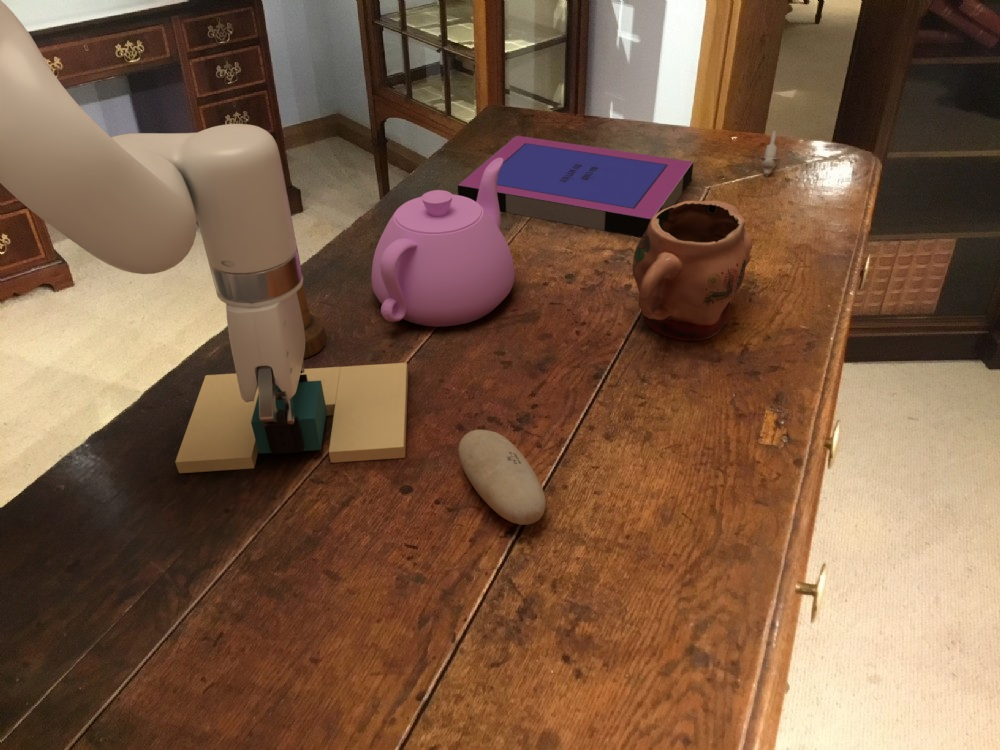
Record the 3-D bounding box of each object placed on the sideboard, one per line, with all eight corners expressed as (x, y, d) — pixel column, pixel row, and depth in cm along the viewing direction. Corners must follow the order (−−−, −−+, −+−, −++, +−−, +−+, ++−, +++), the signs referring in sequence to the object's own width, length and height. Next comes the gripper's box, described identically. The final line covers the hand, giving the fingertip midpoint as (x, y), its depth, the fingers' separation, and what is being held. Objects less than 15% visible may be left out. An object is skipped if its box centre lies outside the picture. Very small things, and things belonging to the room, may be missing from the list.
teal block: (259, 453, 83) (250, 422, 80) (268, 414, 88) (260, 383, 85) (320, 449, 83) (314, 418, 81) (326, 411, 88) (321, 380, 85)
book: (516, 135, 142) (693, 161, 131) (516, 152, 144) (691, 180, 133) (457, 185, 127) (652, 219, 116) (458, 203, 129) (650, 239, 118)
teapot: (450, 361, 96) (442, 254, 88) (332, 318, 104) (314, 217, 96) (558, 265, 113) (560, 167, 105) (449, 234, 121) (442, 141, 113)
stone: (494, 421, 83) (570, 458, 74) (488, 482, 85) (562, 526, 75) (442, 426, 80) (515, 465, 71) (438, 489, 82) (508, 536, 72)
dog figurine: (754, 184, 136) (756, 167, 131) (762, 140, 138) (765, 121, 132) (775, 187, 135) (778, 170, 130) (783, 141, 137) (786, 123, 132)
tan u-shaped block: (178, 473, 83) (174, 462, 82) (208, 385, 94) (205, 375, 93) (405, 458, 84) (403, 446, 83) (408, 373, 95) (406, 362, 94)
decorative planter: (696, 389, 91) (711, 275, 82) (594, 355, 96) (599, 246, 88) (760, 302, 104) (779, 197, 96) (667, 277, 110) (677, 175, 101)
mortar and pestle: (267, 334, 102) (235, 195, 91) (322, 324, 103) (296, 186, 92) (273, 365, 97) (239, 222, 86) (330, 354, 98) (303, 211, 87)
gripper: (232, 228, 81) (267, 379, 92) (191, 328, 67) (239, 492, 78) (311, 224, 81) (337, 375, 92) (287, 322, 68) (321, 486, 78)
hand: (292, 427), depth 85 cm, fingers closed on teal block, 5 cm apart
